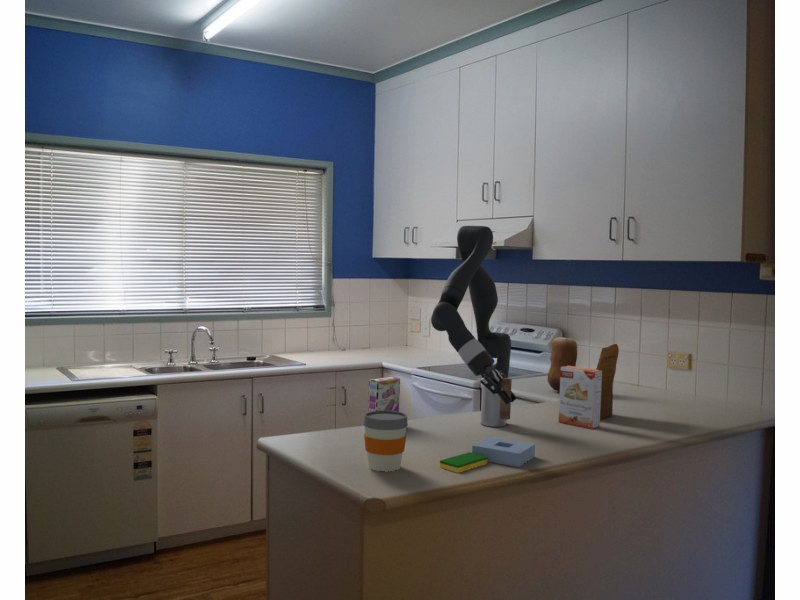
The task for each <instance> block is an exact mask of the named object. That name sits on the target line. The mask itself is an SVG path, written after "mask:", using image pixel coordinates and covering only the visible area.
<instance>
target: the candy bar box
mask: <svg viewBox="0 0 800 600" xmlns="http://www.w3.org/2000/svg"><path fill="white" fill-rule="evenodd" d="M400 388H401V378H398V377H394V376H388V377H382V378H381V377H380V378H371V379H368V401H367V402H368V404H367V405H368V406H367V413H368V412H372V411H397V412H400V396H401V395H400V392H401V389H400Z"/></svg>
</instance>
